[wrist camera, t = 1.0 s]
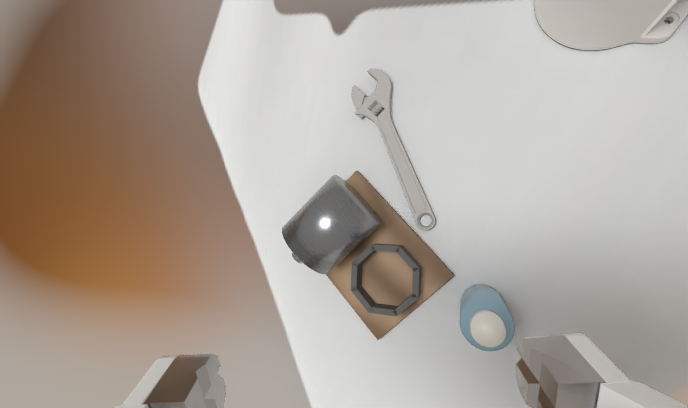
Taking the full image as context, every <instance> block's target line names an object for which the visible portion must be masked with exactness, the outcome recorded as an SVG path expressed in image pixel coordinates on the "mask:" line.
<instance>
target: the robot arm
mask: <svg viewBox="0 0 688 408" xmlns="http://www.w3.org/2000/svg"><path fill="white" fill-rule="evenodd" d="M534 7H535V14H536V18H537V20H538V22H539V24H540V26H541V28H542V29H543V30H544V32H545V33H546V34H547V35H548V36H549V37H551V38H552V39H553V40H555V41H557V42H558V43H560V44H562V45H565V46H567V47H571V48H575V49H580V50H603V49H608V48H613V47H617V46H620V45H624V44H628V43H661V42H664V41H666V40H667V39H668V38H669V37H670V36H671V35H672V34H673V33H674V31H675V30H676V29H677V28H678V26H679V25H680V24H681V23H682V21H683V20H684V19H685V17H686V16H687V15H688V0H535V1H534ZM664 20H668V21H670V24H667V23H665V22H664ZM517 350H518V352H519V354H520V355H521V357H522V358H521V359H520V361H519V362H518V363H517V364H516V377H517V383H518V387H519V390H520V392H521V395H522V397H523V398H524V400H525V402H526V404H527V405H529V406H530V407H531V408H688V406H687V405H685V404H683V403H681V402H679V401H677V400H675V399H673V398H671V397H669V396H667V395H665V394H663V393H661V392H659V391H657V390H655V389H653V388H651V387H649V386H647V385H645V384H643V383H641V382H631V381H630V380H629V379H628V378H627V377H626V375H625V374H624V373H623V372H622V371H621V370H620V369H619V368H618V367H617V366H616V365H615V364H614V363H613V362H612V361H611V360H610V359H609V358H608V357H607V356H606V355H605V354H604V353H603V352H602V351H601V350H600V349H599V348H598V347H597V346H596V345H595V344H594V343H593V342H592V341H591V340H590V339H589V338H588V337H587V336H586V335H584V334H582V333H572V334H560V335H550V336H534V337H520V339H519V341H518V348H517ZM220 366H221V365H220V362H219V358H218V356H217V355H214V354H198V355H178V356H175V355H174V356H162V357H160V358H158V359H157V360H156V361H155V362H154V364H153V365H152V366H151V368H150V369H149V370H148V371H147V373H146V374H145V375H144V377H143V378H142V379H141V380H140V382H139V383H138V385H137V386H136V387H135V388H134V390H133V391H132V392H131V393H130V395H129V396H128V397H127V399H126V400H125V401H124V403H123V404H122V405H121V406H115V407H113V408H223V407H224V402H225V397H226V386H225V382H224V379H223V378H222V377H221V376H220V375H219V374H218V373H217V372H218V370H219V368H220Z"/></svg>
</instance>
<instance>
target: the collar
mask: <svg viewBox="0 0 688 408" xmlns="http://www.w3.org/2000/svg"><path fill="white" fill-rule="evenodd" d="M376 251H390V252H397V253H398V254H399V255H400V257H401V258H402V259H403V260H404V261H405V262H406V263H407V264H408V266H409V267H410V268H411V269H412V270H413V281H412V294H411V295H410V296H409V297H408V298H407V299H405V300H404V301H403V302H402V303H401V304H400V305H399V306H394V305H386V304H378V303H375V302H374V300H373V299H372V298H371V297H370V295H369V294H368V293H367V292H366V291H365V289H364V288H363V287H362V286H361V284H362V264H363V263H364V262H365V261H366V260H367V259H368V258H369V257H370V256H371V255H372V254H373V253H375V252H376ZM351 291H352V293H353V294H354V295H355V296H356V298H357V299H358V300H359V301H360V303H361V304H362V305H363V306H364V308H365V309H366V310H367V311H368V313H374V314H381V315H389V316H396V317H397V316H398V315H399V314H400V313H401V312H403V311H404V310H405V309H406V308H407V307H408V306H410V305H411V304H412V303H413V302H414V301H416V300H417V299H418V298H419V296H420V295H421V265H420V264H419V263H418V262H417V261H416V260H415V259H414V258H413V256H412V255H411V254H410V253H409V252H408V251H407V250H406V249H405V248H404V246H403V245H391V244H371V245H370V246H369V247H368V248H367V249H366V250H365V251H364V252H363V253H361V254H360V255H359V256H358V257H357V258H356V259H355V260H354V261H353V262H352V269H351Z"/></svg>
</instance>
